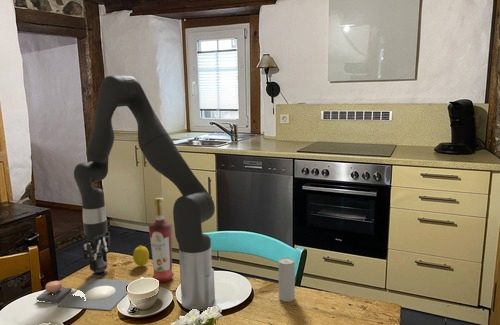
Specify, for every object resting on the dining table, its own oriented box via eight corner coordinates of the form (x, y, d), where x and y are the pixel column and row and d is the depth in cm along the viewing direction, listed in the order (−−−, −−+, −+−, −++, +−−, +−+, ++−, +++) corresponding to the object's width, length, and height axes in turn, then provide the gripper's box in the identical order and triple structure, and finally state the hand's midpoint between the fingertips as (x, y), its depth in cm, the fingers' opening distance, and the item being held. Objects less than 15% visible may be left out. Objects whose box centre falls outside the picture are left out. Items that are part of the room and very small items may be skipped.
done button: (65, 289, 124) (64, 281, 124) (56, 296, 120) (55, 287, 119) (52, 289, 125) (51, 280, 124) (43, 295, 121) (42, 286, 120)
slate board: (138, 282, 131) (138, 281, 131) (110, 310, 114) (110, 309, 114) (91, 279, 134) (91, 278, 134) (57, 306, 117) (57, 305, 117)
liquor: (177, 275, 136) (173, 195, 132) (170, 285, 129) (165, 201, 124) (157, 274, 137) (152, 195, 133) (148, 284, 130) (143, 201, 125)
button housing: (72, 292, 125) (71, 287, 125) (57, 303, 119) (57, 298, 118) (52, 290, 127) (51, 286, 126) (37, 301, 120) (36, 297, 120)
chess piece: (102, 278, 135) (99, 244, 133) (87, 277, 136) (83, 243, 134) (111, 271, 140) (109, 238, 139) (96, 270, 142) (94, 237, 140)
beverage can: (285, 293, 122) (285, 256, 120) (298, 298, 119) (298, 260, 117) (275, 298, 119) (275, 260, 117) (287, 304, 115) (287, 265, 114)
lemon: (147, 269, 141) (146, 248, 140) (132, 269, 141) (130, 248, 140) (151, 263, 147) (150, 242, 145) (136, 263, 147) (135, 242, 145)
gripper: (93, 226, 127) (97, 275, 130) (115, 213, 141) (119, 258, 144) (72, 225, 129) (76, 274, 131) (96, 213, 143) (100, 257, 145)
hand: (98, 265), depth 138 cm, fingers closed on chess piece, 6 cm apart
